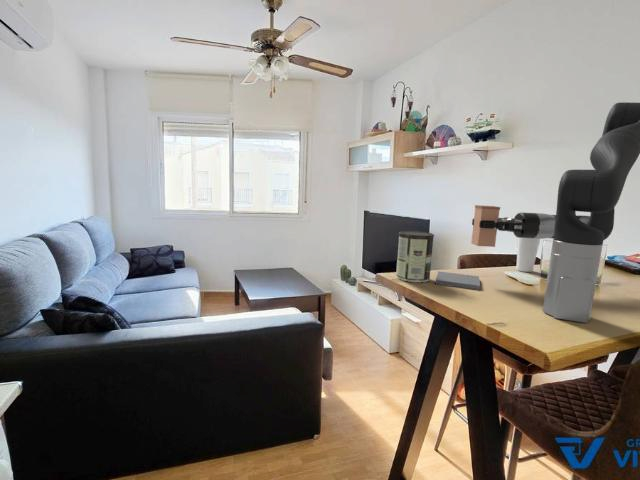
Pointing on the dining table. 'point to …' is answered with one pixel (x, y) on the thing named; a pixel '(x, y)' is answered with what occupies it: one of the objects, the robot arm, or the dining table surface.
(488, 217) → the tea tin
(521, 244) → the drinking glass
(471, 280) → the slate coaster
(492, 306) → the dining table surface
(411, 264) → the coffee can
